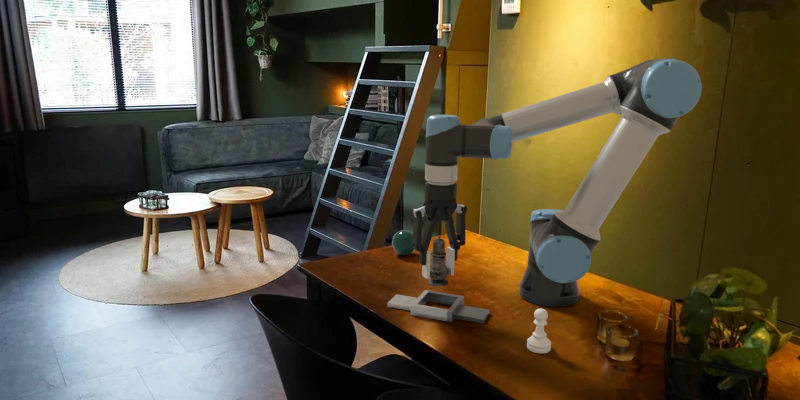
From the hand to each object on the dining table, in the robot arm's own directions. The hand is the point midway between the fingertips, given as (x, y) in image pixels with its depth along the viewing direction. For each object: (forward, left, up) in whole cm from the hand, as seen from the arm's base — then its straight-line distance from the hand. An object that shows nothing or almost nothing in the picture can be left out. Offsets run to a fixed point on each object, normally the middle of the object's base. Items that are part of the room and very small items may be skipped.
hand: (438, 275), depth 138 cm
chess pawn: (-26, +10, -9) cm, 30 cm away
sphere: (+23, -36, -9) cm, 44 cm away
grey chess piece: (0, 0, -2) cm, 2 cm away
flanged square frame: (0, 0, -9) cm, 9 cm away
